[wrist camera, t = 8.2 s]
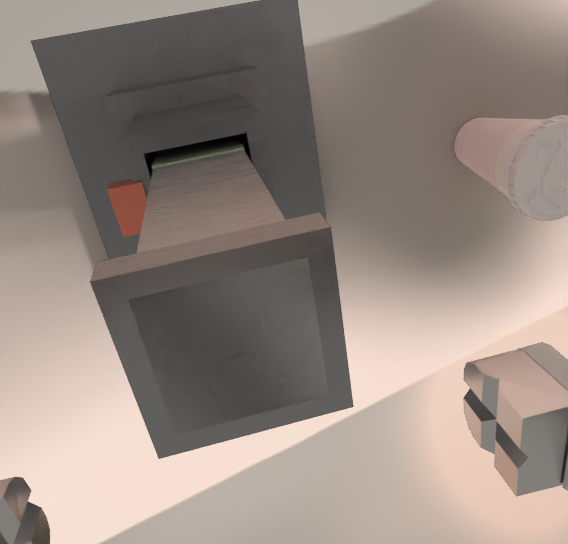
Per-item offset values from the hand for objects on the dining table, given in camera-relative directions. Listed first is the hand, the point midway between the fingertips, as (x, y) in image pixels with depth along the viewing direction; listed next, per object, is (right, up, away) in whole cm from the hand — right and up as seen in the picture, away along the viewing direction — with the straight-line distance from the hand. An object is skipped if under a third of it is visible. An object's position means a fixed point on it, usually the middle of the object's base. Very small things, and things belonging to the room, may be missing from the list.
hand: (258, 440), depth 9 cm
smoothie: (+15, +13, +29) cm, 36 cm away
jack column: (-4, +9, +19) cm, 21 cm away
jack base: (-6, +12, +25) cm, 29 cm away
